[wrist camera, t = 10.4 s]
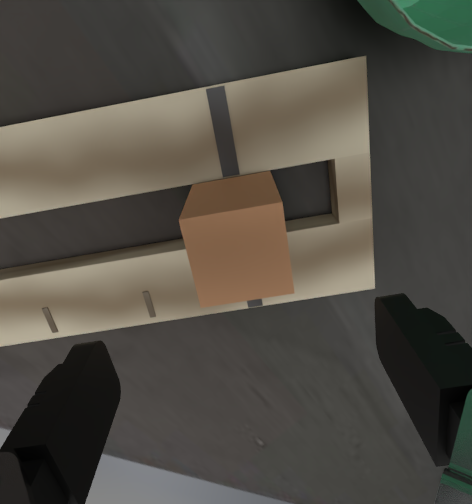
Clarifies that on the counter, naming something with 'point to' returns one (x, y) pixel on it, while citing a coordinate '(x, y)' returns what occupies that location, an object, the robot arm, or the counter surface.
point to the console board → (180, 174)
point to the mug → (427, 21)
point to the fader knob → (237, 240)
